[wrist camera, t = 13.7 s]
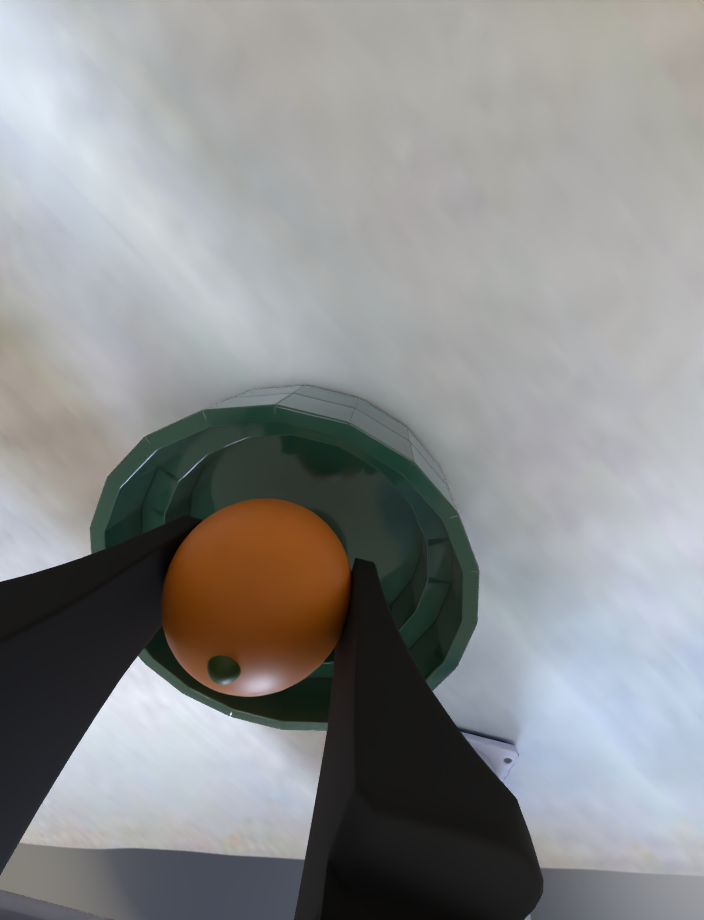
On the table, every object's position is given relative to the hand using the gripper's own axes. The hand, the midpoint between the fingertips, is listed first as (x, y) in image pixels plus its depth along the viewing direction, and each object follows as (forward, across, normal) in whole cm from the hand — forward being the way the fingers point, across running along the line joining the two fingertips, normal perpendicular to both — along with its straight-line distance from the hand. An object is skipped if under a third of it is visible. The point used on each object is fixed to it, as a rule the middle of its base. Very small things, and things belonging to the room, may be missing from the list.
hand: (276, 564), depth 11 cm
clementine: (+1, 0, 0) cm, 1 cm away
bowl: (+6, 0, +3) cm, 7 cm away
